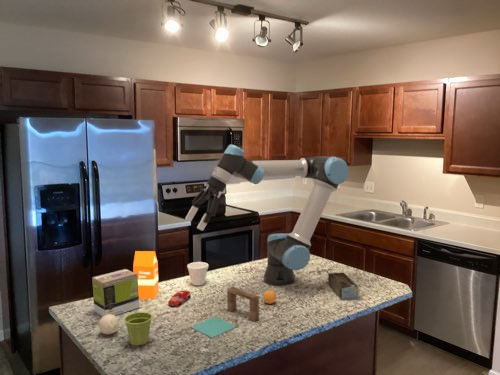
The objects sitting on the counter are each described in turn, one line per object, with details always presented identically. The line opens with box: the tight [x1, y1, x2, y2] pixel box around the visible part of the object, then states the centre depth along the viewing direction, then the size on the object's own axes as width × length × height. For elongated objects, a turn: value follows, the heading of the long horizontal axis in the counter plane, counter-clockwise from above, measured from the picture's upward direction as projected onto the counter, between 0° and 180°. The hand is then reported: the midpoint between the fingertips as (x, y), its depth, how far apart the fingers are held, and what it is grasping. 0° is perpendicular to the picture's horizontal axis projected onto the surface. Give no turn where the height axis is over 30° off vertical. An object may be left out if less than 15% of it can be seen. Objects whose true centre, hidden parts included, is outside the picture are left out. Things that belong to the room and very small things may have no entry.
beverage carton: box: [327, 272, 359, 301], centre depth 190 cm, size 8×19×7 cm, turn 7°
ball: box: [262, 289, 277, 305], centre depth 177 cm, size 6×6×6 cm
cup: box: [186, 261, 209, 287], centre depth 200 cm, size 10×10×9 cm
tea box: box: [91, 268, 140, 318], centre depth 170 cm, size 15×10×15 cm, turn 134°
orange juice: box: [132, 250, 160, 300], centre depth 185 cm, size 8×9×20 cm
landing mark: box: [190, 316, 238, 339], centre depth 155 cm, size 12×12×1 cm
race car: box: [167, 289, 191, 308], centre depth 179 cm, size 13×5×4 cm, turn 159°
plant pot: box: [123, 311, 153, 347], centre depth 144 cm, size 9×9×9 cm
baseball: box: [98, 314, 120, 335], centre depth 150 cm, size 7×7×7 cm
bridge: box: [226, 286, 260, 322], centre depth 166 cm, size 3×14×9 cm, turn 46°
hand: (193, 224), depth 173 cm, fingers open, 13 cm apart
